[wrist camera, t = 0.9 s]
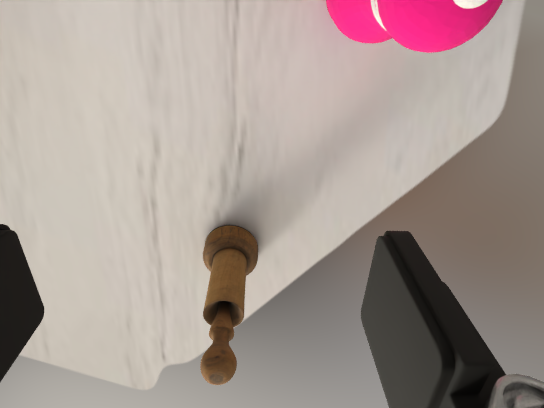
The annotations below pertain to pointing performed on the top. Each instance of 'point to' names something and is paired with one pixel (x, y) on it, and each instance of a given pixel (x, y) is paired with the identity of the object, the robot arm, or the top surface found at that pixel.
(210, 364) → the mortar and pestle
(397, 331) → the robot arm
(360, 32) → the pepper mill
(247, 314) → the top surface
